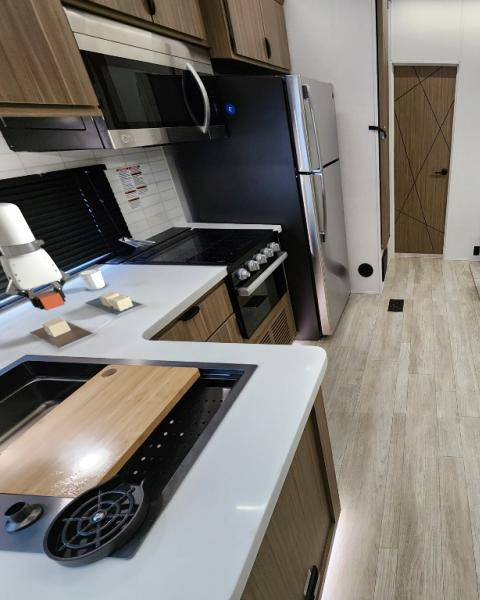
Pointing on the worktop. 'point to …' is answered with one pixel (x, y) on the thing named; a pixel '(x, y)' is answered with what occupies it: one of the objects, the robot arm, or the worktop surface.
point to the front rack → (62, 335)
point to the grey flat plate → (99, 304)
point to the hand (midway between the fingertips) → (51, 304)
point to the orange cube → (50, 299)
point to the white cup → (92, 279)
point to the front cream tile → (56, 327)
